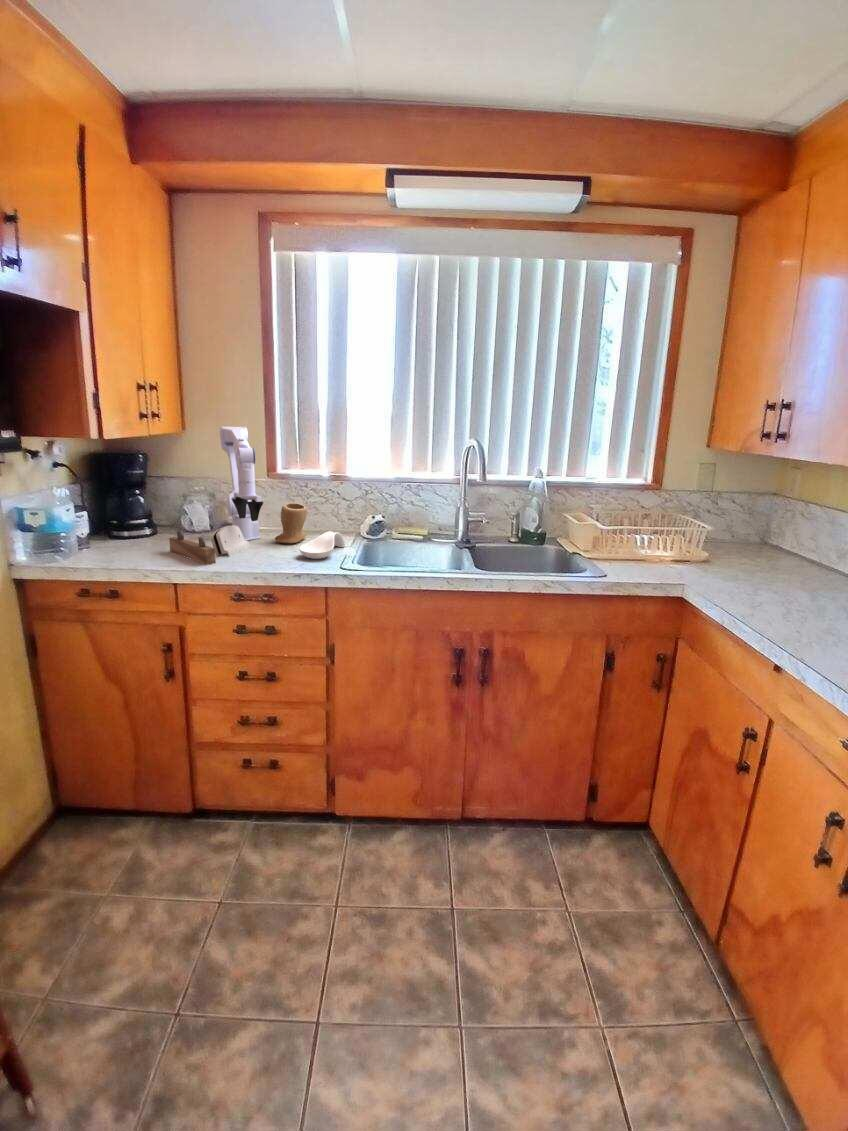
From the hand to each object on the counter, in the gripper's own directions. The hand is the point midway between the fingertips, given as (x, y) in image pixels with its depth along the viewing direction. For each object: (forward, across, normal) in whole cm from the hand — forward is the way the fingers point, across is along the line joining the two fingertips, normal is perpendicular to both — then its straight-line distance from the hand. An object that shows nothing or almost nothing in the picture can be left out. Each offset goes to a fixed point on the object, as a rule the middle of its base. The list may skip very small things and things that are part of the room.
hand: (248, 519), depth 205 cm
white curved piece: (+11, 0, -8) cm, 13 cm away
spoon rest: (+11, +25, +14) cm, 31 cm away
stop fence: (+10, 0, -22) cm, 25 cm away
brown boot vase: (+11, +2, +18) cm, 21 cm away
